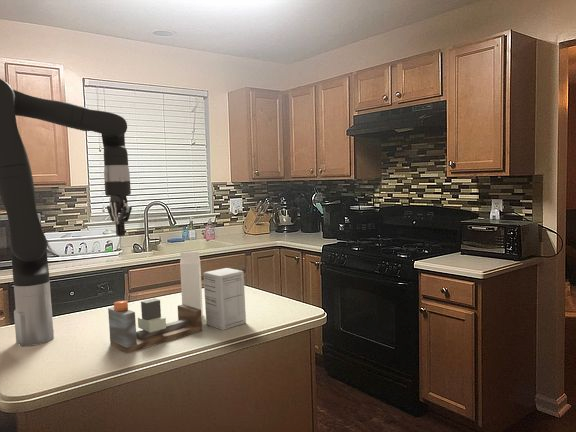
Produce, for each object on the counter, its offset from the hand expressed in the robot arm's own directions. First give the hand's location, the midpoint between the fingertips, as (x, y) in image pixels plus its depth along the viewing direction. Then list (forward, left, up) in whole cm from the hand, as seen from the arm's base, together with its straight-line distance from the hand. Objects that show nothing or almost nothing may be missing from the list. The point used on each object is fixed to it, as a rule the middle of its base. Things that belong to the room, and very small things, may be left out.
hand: (120, 235), depth 148 cm
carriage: (-1, -18, -26) cm, 31 cm away
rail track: (+1, -18, -29) cm, 34 cm away
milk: (+19, -9, -29) cm, 36 cm away
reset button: (-10, -18, -18) cm, 27 cm away
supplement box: (+22, -23, -29) cm, 43 cm away
